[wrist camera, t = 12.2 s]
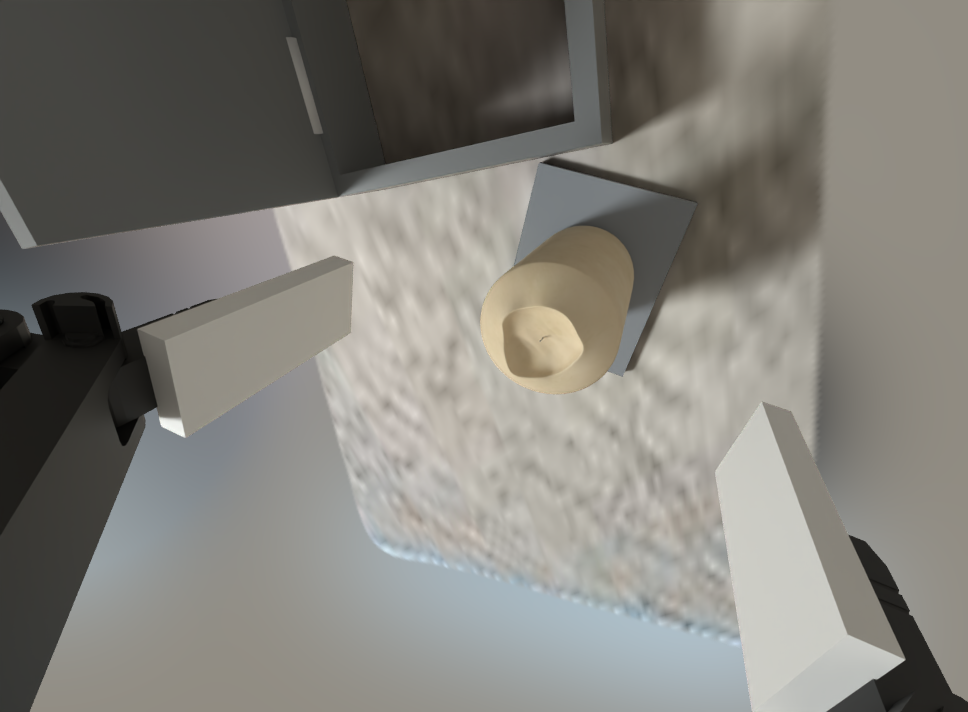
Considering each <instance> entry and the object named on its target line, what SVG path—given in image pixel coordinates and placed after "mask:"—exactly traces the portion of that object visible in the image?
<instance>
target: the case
mask: <svg viewBox="0 0 968 712" xmlns="http://www.w3.org/2000/svg"><path fill="white" fill-rule="evenodd" d="M564 5H565V16H566V28H567V39H568V51H569V62H570V74H571V85H572V97H573V108H574V119H575V121H574V122H570V123H566V124H561V125H557V126H552V127H548V128H544V129H539V130H535V131H531V132H526V133H522V134H517V135H513V136H509V137H504V138H500V139H496V140H491V141H487V142H482V143H478V144H474V145H469V146H465V147H460V148H456V149H452V150H447V151H443V152H439V153H434V154H430V155H425V156H421V157H417V158H412V159H408V160H404V161H399V162H395V163H390V164H385V160H384V156H383V152H382V148H381V143H380V139H379V135H378V131H377V127H376V123H375V119H374V114H373V110H372V106H371V102H370V98H369V94H368V90H367V85H366V81H365V77H364V73H363V69H362V65H361V61H360V57H359V52H358V48H357V44H356V40H355V36H354V32H353V28H352V23H351V19H350V15H349V11H348V7H347V3H346V0H0V211H1V212H2V214H3V216H4V217H5V219H6V221H7V223H8V225H9V226H10V228H11V230H12V232H13V233H14V235H15V237H16V238H17V240H18V242H19V244H20V246H21V247H22V249H25V248H31V247H38V246H44V245H50V244H56V243H62V242H69V241H75V240H81V239H87V238H93V237H99V236H106V235H112V234H117V233H124V232H130V231H136V230H142V229H148V228H154V227H161V226H167V225H173V224H179V223H185V222H191V221H197V220H203V219H210V218H216V217H222V216H228V215H234V214H240V213H246V212H252V211H259V210H265V209H271V208H277V207H283V206H289V205H295V204H301V203H308V202H314V201H320V200H326V199H331V198H337V197H343V196H349V195H355V194H362V193H368V192H374V191H380V190H385V189H390V188H394V187H399V186H404V185H409V184H414V183H419V182H424V181H429V180H434V179H439V178H444V177H449V176H454V175H459V174H464V173H469V172H474V171H479V170H484V169H489V168H494V167H499V166H504V165H509V164H513V163H518V162H523V161H528V160H533V159H538V158H543V157H548V156H553V155H558V154H563V153H568V152H573V151H578V150H583V149H588V148H593V147H598V146H603V145H608V144H613V142H612V125H611V108H610V91H609V74H608V57H607V40H606V23H605V6H604V0H564Z"/></svg>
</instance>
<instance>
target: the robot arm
mask: <svg viewBox="0 0 968 712" xmlns="http://www.w3.org/2000/svg"><path fill="white" fill-rule="evenodd" d="M352 285H353V262H351V261H348V260H345V259H342V258H340V257H337V256H332V257H329V258H327V259H324V260H321V261H319V262H316V263H313V264H311V265H308V266H305V267H302V268H300V269H297V270H294V271H292V272H290V273H286V274H284V275H281V276H278V277H276V278H273V279H270V280H267V281H265V282H262V283H259V284H257V285H254V286H251V287H249V288H246V289H243V290H241V291H238V292H235V293H233V294H230V295H227V296H225V297H222V298H219V299H213V300H208V301H205V302H202V303H200V304H197V305H194V306H191V307H190V309H188V308H186V309H183V310H180V311H178V312H176V313H175V314H169V315H167V316H164V317H161V318H159V319H156V320H153V321H150V322H148V323H145V324H142V325H140V326H137V327H134V328H131V329H129V330H126V331H123V332H121V329H120V325H119V322H118V318H117V314H116V311H115V307H114V303H113V301H112V300H111V299H110V298H109V297H107V296H104V295H101V294H96V293H85V292H81V293H65V294H59V295H54V296H50V297H47V298H44V299H41V300H39V301H37V302H36V303H34V304H32V308H33V310H34V313H35V315H36V318H37V321H38V324H39V326H40V329H41V331H42V334H43V335H40V334H34V333H30V332H29V329H28V327H27V324H26V322H25V319H24V317H23V316H22V315H21V314H19V313H18V312H14V311H10V310H0V712H30V709H31V707H32V704H33V702H34V699H35V697H36V694H37V692H38V689H39V687H40V685H41V682H42V679H43V677H44V675H45V672H46V670H47V667H48V665H49V662H50V660H51V657H52V655H53V652H54V650H55V648H56V645H57V643H58V640H59V638H60V635H61V633H62V630H63V628H64V625H65V623H66V621H67V618H68V616H69V613H70V611H71V608H72V606H73V603H74V601H75V598H76V596H77V593H78V591H79V589H80V586H81V584H82V581H83V579H84V576H85V574H86V571H87V569H88V567H89V564H90V562H91V559H92V556H93V554H94V551H95V549H96V547H97V544H98V542H99V539H100V537H101V534H102V532H103V530H104V527H105V525H106V522H107V520H108V517H109V515H110V512H111V510H112V507H113V505H114V502H115V500H116V498H117V495H118V493H119V490H120V488H121V485H122V483H123V480H124V478H125V475H126V473H127V471H128V468H129V466H130V463H131V461H132V458H133V456H134V453H135V451H136V448H137V446H138V444H139V441H140V438H141V436H142V433H143V431H144V429H145V417H144V414H145V413H147V412H149V411H151V410H153V409H154V408H156V407H157V410H158V415H159V419H160V423H161V426H162V427H164V428H166V429H168V430H170V431H172V432H174V433H176V434H178V435H180V436H182V437H184V438H186V437H188V436H190V435H191V434H193V433H194V432H196V431H197V430H199V429H201V428H202V427H204V426H205V425H207V424H208V423H210V422H212V421H213V420H215V419H216V418H218V417H219V416H221V415H223V414H224V413H226V412H227V411H229V410H230V409H232V408H234V407H235V406H237V405H238V404H240V403H241V402H243V401H245V400H246V399H247V398H249V397H251V396H252V395H254V394H255V393H257V392H258V391H260V390H262V389H263V388H265V387H266V386H268V385H270V384H271V383H273V382H274V381H275V380H277V379H279V378H281V377H282V376H284V375H285V374H287V373H288V372H290V371H292V370H293V369H294V368H296V367H298V366H299V365H301V364H302V363H304V362H306V361H307V360H309V359H310V358H312V357H313V356H315V355H317V354H318V353H320V352H321V351H323V350H324V349H326V348H328V347H329V346H331V345H332V344H334V343H335V342H337V341H339V340H340V339H342V338H343V337H345V336H346V335H348V334H350V333H351V310H352ZM715 475H716V481H717V488H718V494H719V501H720V507H721V514H722V520H723V526H724V533H725V539H726V546H727V552H728V559H729V565H730V572H731V578H732V585H733V591H734V598H735V604H736V611H737V617H738V624H739V630H740V637H741V643H742V650H743V656H744V662H745V669H746V676H747V682H748V688H749V695H750V702H751V708H752V712H968V702H967V701H965V700H964V699H963V698H961V697H959V696H957V695H955V694H953V693H952V691H951V689H950V687H949V686H948V684H947V682H946V680H945V678H944V676H943V674H942V672H941V670H940V668H939V666H938V664H937V662H936V661H935V658H934V657H933V655H932V653H931V651H930V649H929V647H928V645H927V643H926V641H925V639H924V637H923V635H922V633H921V631H920V630H919V628H918V626H917V624H916V622H915V620H914V618H913V616H911V615H909V611H910V610H909V608H908V606H907V604H906V602H905V601H904V599H903V597H902V595H900V594H898V592H899V589H898V587H897V585H896V583H895V581H894V580H893V577H892V575H891V573H890V572H889V570H888V568H887V566H886V565H885V564H884V563H883V561H882V560H881V559H880V558H879V557H878V556H877V554H875V552H874V551H873V550H872V549H871V547H870V546H869V545H868V544H867V543H866V542H865V541H863V540H860V539H858V538H855V537H853V536H850V535H848V533H847V531H846V529H845V527H844V525H843V523H842V520H841V518H840V516H839V514H838V512H837V510H836V507H835V505H834V503H833V501H832V499H831V496H830V494H829V492H828V490H827V488H826V486H825V483H824V481H823V479H822V477H821V475H820V473H819V470H818V468H817V466H816V464H815V462H814V460H813V457H812V455H811V453H810V451H809V449H808V447H807V444H806V442H805V440H804V438H803V436H802V434H801V431H800V429H799V427H798V425H797V423H796V421H795V418H794V416H793V414H792V412H791V411H788V410H785V409H782V408H779V407H777V406H774V405H771V404H768V403H765V402H761V403H760V405H759V406H758V408H757V409H756V411H755V412H754V414H753V415H752V417H751V418H750V420H749V421H748V423H747V424H746V426H745V427H744V429H743V430H742V432H741V433H740V435H739V436H738V438H737V439H736V441H735V442H734V444H733V445H732V447H731V448H730V450H729V451H728V453H727V454H726V456H725V457H724V459H723V460H722V462H721V463H720V465H719V466H718V468H717V469H716V471H715Z"/></svg>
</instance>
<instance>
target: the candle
mask: <svg viewBox="0 0 968 712" xmlns="http://www.w3.org/2000/svg"><path fill="white" fill-rule="evenodd" d="M633 282H634V268H633V263H632V260H631V257H630V255H629V253H628V251H627V249H626V248H625V246H624V245H623V244H622V242H621V241H620V240H619V239H618V238H616V237H615V236H614V235H613V234H611V233H609V232H608V231H606V230H603V229H601V228H597V227H593V226H573V227H569V228H566V229H563V230H561V231H559V232H557V233H555V234H554V235H553V236H551V237H550V238H548V239H547V240H546V241H544V242H543V243H542V244H541V245H540V246H538V247H537V248H536V249H535V250H533V251H532V252H531V253H530V254H528V255H527V256H526V257H525V258H523V259H522V260H521V261H520V262H519V263H517V264H516V265H515V266H514V267H512V268H511V269H510V270H509V271H507V272H506V273H505V274H504V275H503V276H501V277H500V278H499V279H498V280H497V281H496V282H495V284H494V285H493V286H492V287H491V289H490V290H489V292H488V294H487V296H486V298H485V301H484V303H483V307H482V311H481V319H480V324H481V334H482V338H483V342H484V345H485V347H486V350H487V352H488V354H489V356H490V357H491V359H492V360H493V362H494V363H495V364H496V366H497V367H498V368H499V369H500V370H501V371H502V372H503V373H504V374H505V375H506V376H507V377H508V378H510V379H511V380H513V381H514V382H516V383H517V384H519V385H521V386H523V387H525V388H528V389H530V390H533V391H536V392H540V393H546V394H567V393H572V392H576V391H579V390H582V389H584V388H586V387H588V386H590V385H592V384H593V383H595V382H596V381H598V380H599V379H600V378H601V377H602V376H603V375H604V374H605V373H606V372H607V371H608V370H609V368H610V367H611V365H612V364H613V362H614V360H615V358H616V356H617V353H618V350H619V346H620V342H621V338H622V333H623V329H624V325H625V320H626V316H627V311H628V307H629V302H630V298H631V293H632V289H633Z"/></svg>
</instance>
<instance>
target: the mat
mask: <svg viewBox="0 0 968 712" xmlns="http://www.w3.org/2000/svg"><path fill="white" fill-rule="evenodd" d="M696 206H697V202H693V201H689V200H685V199H682V198H678V197H674V196H670V195H666V194H662V193H658V192H655V191H651V190H647V189H643V188H639V187H635V186H631V185H627V184H624V183H620V182H616V181H612V180H608V179H604V178H600V177H597V176H593V175H589V174H585V173H581V172H577V171H573V170H569V169H566V168H562V167H558V166H554V165H550V164H546V163H542V162H541V163H539V165H538V169H537V173H536V177H535V181H534V185H533V189H532V193H531V197H530V201H529V206H528V210H527V214H526V218H525V222H524V226H523V230H522V234H521V238H520V242H519V246H518V250H517V255H516V259H515V263H514V266H515V265H516V264H517V263H519V262H520V261H521V260H522V259H523V258H525V257H526V256H527V255H528V254H530V253H531V252H532V251H533V250H535V249H536V248H537V247H538V246H540V245H541V244H542V243H543V242H544V241H546V240H547V239H548V238H550V237H551V236H553V235H554V234H555V233H557V232H559V231H561V230H563V229H566V228H569V227H573V226H593V227H597V228H601V229H603V230H606V231H608V232H609V233H611V234H613V235H614V236H615V237H616V238H618V239H619V240H620V241H621V242H622V244H623V245H624V246H625V248H626V249H627V251H628V253H629V255H630V257H631V260H632V263H633V268H634V282H633V289H632V293H631V298H630V302H629V307H628V311H627V316H626V320H625V325H624V329H623V333H622V338H621V342H620V346H619V350H618V353H617V356H616V358H615V360H614V362H613V364H612V365H611V367H610V368H609V370H608V372H611V373H614V374H617V375H619V376H622V377H623V374H624V372H625V370H626V368H627V365H628V363H629V361H630V358H631V356H632V354H633V351H634V349H635V347H636V345H637V342H638V340H639V338H640V335H641V333H642V331H643V328H644V326H645V324H646V322H647V319H648V317H649V315H650V312H651V310H652V308H653V305H654V303H655V301H656V299H657V296H658V294H659V292H660V289H661V287H662V285H663V282H664V280H665V278H666V276H667V273H668V271H669V269H670V266H671V264H672V262H673V259H674V257H675V255H676V252H677V250H678V248H679V246H680V243H681V241H682V239H683V236H684V234H685V232H686V229H687V227H688V225H689V223H690V220H691V218H692V216H693V213H694V211H695V209H696Z"/></svg>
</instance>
